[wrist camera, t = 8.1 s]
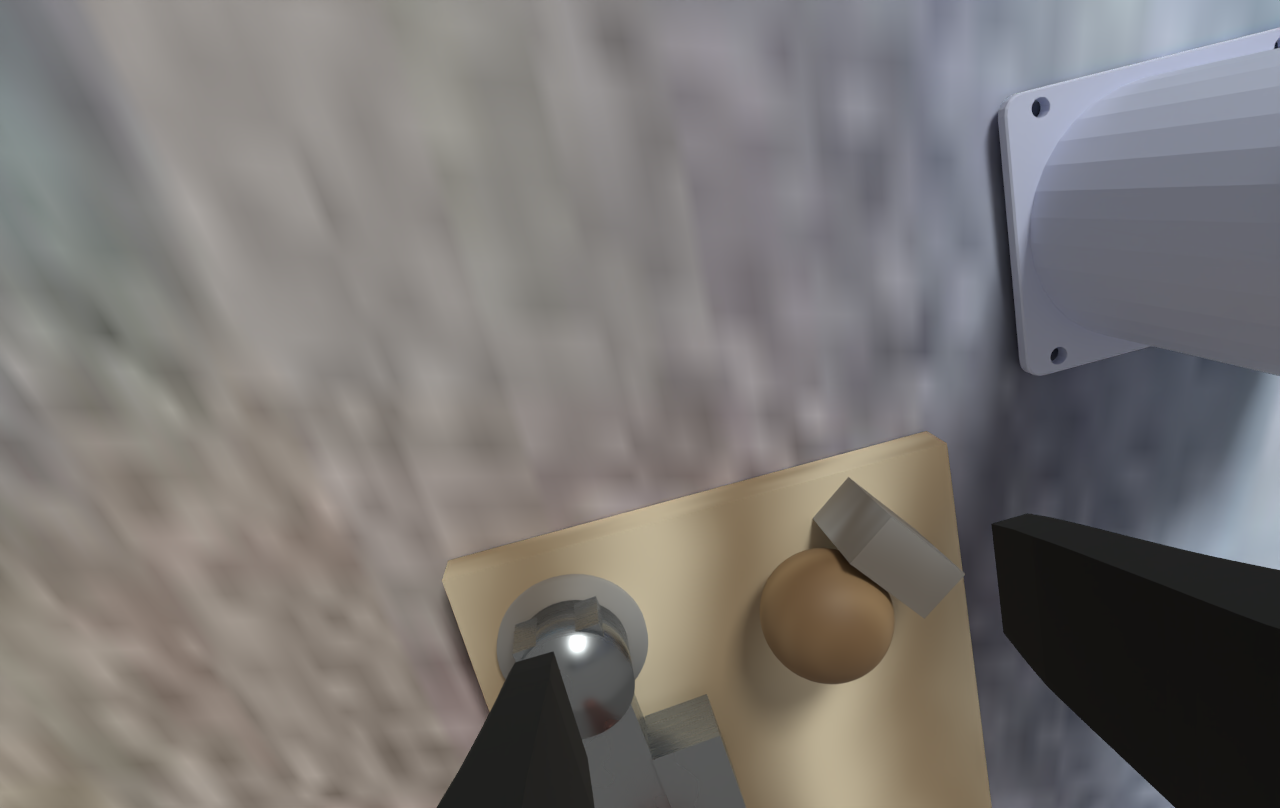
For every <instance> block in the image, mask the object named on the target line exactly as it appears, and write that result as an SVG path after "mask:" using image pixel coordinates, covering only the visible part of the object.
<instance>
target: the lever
mask: <svg viewBox="0 0 1280 808" xmlns="http://www.w3.org/2000/svg"><path fill="white" fill-rule="evenodd" d="M553 651H554V654H555V657H556V660H557V663H558V667H559V670H560V673H561V676H562V679H563V682H564V685H565V688H566V692H567V695H568V698H569V701H570V704H571V707H572V710H573V714H574V717H575V720H576V723H577V726H578V729H579V732H580V735H581V739H582V742H583V745H584V748H585V751H586V754H587V757H588V764H589V771H590V778H591V785H592V791H593V799H594V806H595V808H746V805H745V802H744V799H743V796H742V793H741V789H740V786H739V783H738V780H737V777H736V774H735V771H734V768H733V765H732V762H731V759H730V756H729V754H728V751H727V748H726V745H725V743H724V740H723V737H722V734H721V731H720V729H719V726H718V723H717V720H716V718H715V715H714V712H713V709H712V706H711V704H710V701H709V698H708V695H707V694H705V695H702V696H699V697H697V698H694V699H691V700H688V701H686V702H683V703H680V704H677V705H674V706H672V707H669V708H666V709H663V710H661V711H658V712H655V713H652V714H649V715H647V716H645V719H644V716H643V714H642V711H641V708H640V706H639V703H638V701H637V698H636V696H635V693H634V691H635V679H634V673H633V667H632V661H631V655H630V649H629V643H628V637H627V634H626V630H625V628H624V626H623V624H622V623H621V621H620V620H619V619H618V618H617V617H616V615H615V614H613V613H612V612H611V611H610V610H608V609H607V608H605V607H603V606H601V605H599V602H598V600H597V597H596V596H594V597H591V598H589V599H586V600H567V601H561V602H558V603H555V604H552V605H550V606H547V607H546V608H544V609H542V610H541V611H539V612H538V613H537V614H535V615H534V616H533V617H532V618H531V619H530V620H527V621H524V622H521V623H518V624H516V625H515V632H514V642H513V653H512V655H513V657H514V659H515V661H516V662H518V661H522V660H525V659H528V658H532V657H535V656H539V655H542V654H546V653H549V652H553Z"/></svg>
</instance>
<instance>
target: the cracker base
mask: <svg viewBox="0 0 1280 808" xmlns="http://www.w3.org/2000/svg"><path fill="white" fill-rule="evenodd" d="M964 575H965V573H964V572H963V570H962V562H961V554H960V546H959V538H958V530H957V522H956V514H955V506H954V497H953V489H952V481H951V473H950V465H949V457H948V449H947V443H945V442H944V441H942V440H940V439H939V438H937V437H935V436H934V435H932V434H930V433H929V432H927V431H925V432H921V433H918V434H914V435H910V436H907V437H903V438H899V439H896V440H892V441H888V442H884V443H881V444H877V445H873V446H870V447H866V448H862V449H859V450H855V451H851V452H848V453H844V454H840V455H836V456H833V457H829V458H825V459H822V460H818V461H814V462H811V463H807V464H803V465H800V466H796V467H792V468H788V469H785V470H781V471H777V472H774V473H770V474H766V475H763V476H759V477H755V478H752V479H748V480H744V481H740V482H737V483H733V484H729V485H726V486H722V487H718V488H715V489H711V490H707V491H704V492H700V493H696V494H692V495H689V496H685V497H681V498H678V499H674V500H670V501H667V502H663V503H659V504H656V505H652V506H648V507H644V508H641V509H637V510H633V511H630V512H626V513H622V514H619V515H615V516H611V517H608V518H604V519H600V520H596V521H593V522H589V523H585V524H582V525H578V526H574V527H571V528H567V529H563V530H560V531H556V532H552V533H548V534H545V535H541V536H537V537H534V538H530V539H526V540H523V541H519V542H515V543H512V544H508V545H504V546H500V547H497V548H493V549H489V550H486V551H482V552H478V553H475V554H471V555H467V556H464V557H460V558H456V559H452V560H449V561H448V563H447V566H446V570H445V573H444V576H443V579H442V582H443V585H444V587H445V590H446V593H447V596H448V598H449V601H450V604H451V607H452V610H453V612H454V615H455V618H456V621H457V623H458V626H459V629H460V632H461V635H462V637H463V640H464V643H465V646H466V648H467V651H468V654H469V657H470V659H471V662H472V665H473V668H474V671H475V673H476V676H477V679H478V682H479V684H480V687H481V690H482V693H483V696H484V698H485V701H486V704H487V707H488V709H489V712H490V711H491V709H492V707H493V705H494V703H495V701H496V699H497V697H498V695H499V692H500V690H501V688H502V686H503V684H504V682H505V680H506V678H507V676H508V674H509V672H510V670H511V668H512V667H513V665H514V663H515V662H516V661H515V659H514V657H513V655H512V653H513V642H514V632H515V625H516V624H518V623H521V622H524V621H527V620H530V619H531V618H532V617H533V616H534V615H535V614H537V613H538V612H539V611H541V610H542V609H544V608H546V607H547V606H550V605H552V604H555V603H558V602H561V601H567V600H586V599H589V598H591V597H594V596H596V597H597V600H598V602H599V605H601V606H603V607H605V608H607V609H608V610H610V611H611V612H612V613H613V614H615V615H616V617H617V618H618V619H619V620H620V621H621V623H622V624H623V626H624V628H625V630H626V634H627V637H628V643H629V649H630V655H631V661H632V667H633V673H634V679H635V691H634V693H635V696H636V698H637V701H638V703H639V706H640V708H641V711H642V714H643V716H644V719H645V716H647V715H649V714H652V713H655V712H658V711H661V710H663V709H666V708H669V707H672V706H674V705H677V704H680V703H683V702H686V701H688V700H691V699H694V698H697V697H699V696H702V695H705V694H707V695H708V698H709V701H710V704H711V706H712V709H713V712H714V715H715V718H716V720H717V723H718V726H719V729H720V731H721V734H722V737H723V740H724V743H725V745H726V748H727V751H728V754H729V756H730V759H731V762H732V765H733V768H734V771H735V774H736V777H737V780H738V783H739V786H740V789H741V793H742V796H743V799H744V802H745V805H746V808H992V806H991V798H990V790H989V781H988V773H987V765H986V757H985V749H984V741H983V733H982V725H981V717H980V708H979V700H978V692H977V684H976V676H975V668H974V660H973V652H972V643H971V635H970V627H969V619H968V611H967V603H966V595H965V587H964V579H963V576H964Z"/></svg>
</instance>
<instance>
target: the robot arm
mask: <svg viewBox="0 0 1280 808" xmlns="http://www.w3.org/2000/svg"><path fill="white" fill-rule="evenodd" d="M1276 42H1277V44H1278V48H1277V49H1274V46H1275V43H1276ZM1035 99H1036V100H1037V101H1038V102H1039V103H1040V106H1041V108H1040V113H1039V114H1038V116H1037V117H1035V116H1034V115H1033V113H1032V110H1031V109H1032V104H1033V102H1034V101H1035ZM998 125H999V136H1000V147H1001V158H1002V170H1003V181H1004V192H1005V203H1006V214H1007V226H1008V237H1009V248H1010V259H1011V271H1012V282H1013V293H1014V304H1015V316H1016V327H1017V338H1018V349H1019V361H1020V365H1021V368H1022V369H1023V370H1024V371H1025V372H1027V373H1030V374H1033V375H1036V376H1043V375H1047V374H1051V373H1054V372H1058V371H1062V370H1065V369H1069V368H1073V367H1077V366H1080V365H1084V364H1088V363H1091V362H1095V361H1099V360H1103V359H1106V358H1110V357H1114V356H1117V355H1121V354H1125V353H1129V352H1132V351H1136V350H1140V349H1143V348H1147V347H1151V346H1154V347H1158V348H1162V349H1166V350H1171V351H1175V352H1179V353H1184V354H1188V355H1192V356H1196V357H1201V358H1205V359H1209V360H1214V361H1218V362H1222V363H1226V364H1231V365H1235V366H1239V367H1243V368H1248V369H1252V370H1256V371H1261V372H1265V373H1269V374H1273V375H1278V376H1280V28H1276V29H1272V30H1268V31H1264V32H1260V33H1256V34H1252V35H1248V36H1244V37H1240V38H1236V39H1232V40H1228V41H1224V42H1220V43H1216V44H1212V45H1208V46H1204V47H1200V48H1196V49H1192V50H1188V51H1184V52H1180V53H1176V54H1172V55H1168V56H1164V57H1160V58H1156V59H1152V60H1148V61H1144V62H1140V63H1136V64H1132V65H1128V66H1124V67H1120V68H1116V69H1112V70H1108V71H1104V72H1100V73H1096V74H1092V75H1088V76H1084V77H1080V78H1076V79H1072V80H1068V81H1064V82H1060V83H1056V84H1052V85H1048V86H1044V87H1040V88H1036V89H1032V90H1028V91H1024V92H1020V93H1016V94H1013V95H1011V96H1009V97H1007V98H1006V99H1005V100H1004V101H1003V102H1002V104H1001V106H1000V108H999V111H998ZM1055 348H1058V355H1057V357H1056V358H1055V359H1054V360H1052V361H1051V359H1050V357H1051V353H1052V351H1053V350H1054V349H1055ZM992 532H993V541H994V550H995V559H996V568H997V578H998V587H999V596H1000V605H1001V614H1002V623H1003V632H1004V634H1005V635H1006V636H1007V638H1008V639H1009V640H1010V641H1011V643H1012V644H1013V645H1014V647H1015V648H1016V649H1017V650H1018V652H1019V653H1020V654H1021V655H1022V657H1023V658H1024V659H1025V660H1026V662H1027V663H1028V664H1029V665H1030V666H1031V668H1032V669H1033V670H1034V671H1035V672H1036V674H1037V675H1038V676H1039V677H1040V678H1041V679H1042V681H1043V682H1044V683H1045V684H1046V685H1047V686H1048V687H1049V688H1050V689H1051V690H1052V691H1053V692H1054V693H1055V694H1056V695H1057V696H1058V697H1059V698H1060V699H1061V700H1062V701H1063V702H1064V703H1065V704H1066V705H1067V706H1068V707H1069V708H1070V709H1071V710H1072V711H1074V712H1075V713H1076V714H1077V715H1078V716H1079V717H1080V718H1081V719H1082V720H1083V721H1084V722H1085V723H1086V724H1087V725H1088V726H1089V727H1090V728H1091V729H1092V730H1093V731H1094V732H1096V733H1097V734H1098V735H1099V736H1100V737H1101V738H1102V739H1103V740H1104V741H1105V742H1106V743H1107V744H1108V745H1109V746H1110V747H1111V748H1113V749H1114V750H1115V751H1116V752H1117V753H1118V754H1119V755H1120V756H1121V757H1122V758H1123V759H1124V760H1125V761H1126V762H1127V763H1128V764H1130V765H1131V766H1132V767H1133V768H1134V769H1135V770H1136V771H1137V772H1138V773H1139V774H1140V775H1141V776H1142V777H1143V778H1144V779H1145V780H1147V781H1148V782H1149V783H1150V784H1151V785H1152V786H1153V787H1154V788H1155V789H1156V790H1157V791H1158V792H1159V793H1160V794H1161V795H1162V796H1164V797H1165V798H1166V799H1167V800H1168V801H1169V802H1170V803H1171V804H1172V805H1173V806H1174V807H1175V808H1280V570H1276V569H1271V568H1266V567H1261V566H1256V565H1251V564H1246V563H1241V562H1237V561H1232V560H1227V559H1222V558H1217V557H1213V556H1208V555H1204V554H1199V553H1195V552H1191V551H1186V550H1182V549H1178V548H1174V547H1169V546H1165V545H1161V544H1157V543H1153V542H1149V541H1145V540H1141V539H1137V538H1133V537H1129V536H1125V535H1121V534H1117V533H1113V532H1109V531H1105V530H1101V529H1097V528H1093V527H1089V526H1085V525H1081V524H1077V523H1072V522H1068V521H1064V520H1059V519H1055V518H1050V517H1045V516H1039V515H1033V514H1024V515H1021V516H1017V517H1014V518H1010V519H1007V520H1004V521H1000V522H997V523H993V524H992ZM437 808H595V806H594V799H593V791H592V785H591V778H590V771H589V764H588V757H587V754H586V751H585V748H584V745H583V742H582V739H581V735H580V732H579V729H578V726H577V723H576V720H575V717H574V714H573V710H572V707H571V704H570V701H569V698H568V695H567V692H566V688H565V685H564V682H563V679H562V676H561V673H560V670H559V667H558V663H557V660H556V657H555V654H554V651H553V652H549V653H546V654H542V655H539V656H535V657H532V658H528V659H525V660H522V661H518V662H515V663H514V665H513V667H512V668H511V670H510V672H509V674H508V676H507V678H506V680H505V682H504V684H503V686H502V688H501V690H500V692H499V695H498V697H497V699H496V701H495V703H494V705H493V707H492V709H491V711H490V713H489V715H488V717H487V719H486V721H485V723H484V725H483V727H482V729H481V731H480V733H479V734H478V736H477V738H476V740H475V742H474V744H473V746H472V747H471V749H470V751H469V753H468V755H467V757H466V759H465V761H464V762H463V764H462V766H461V768H460V770H459V771H458V773H457V775H456V777H455V778H454V780H453V782H452V783H451V785H450V786H449V788H448V790H447V791H446V793H445V795H444V796H443V798H442V800H441V801H440V803H439V805H438V806H437Z"/></svg>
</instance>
